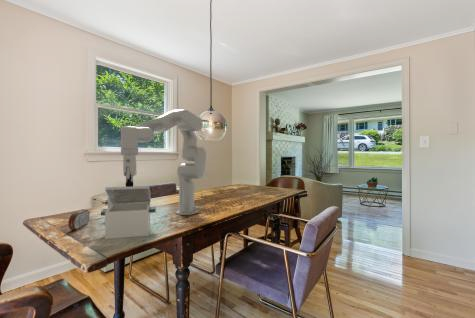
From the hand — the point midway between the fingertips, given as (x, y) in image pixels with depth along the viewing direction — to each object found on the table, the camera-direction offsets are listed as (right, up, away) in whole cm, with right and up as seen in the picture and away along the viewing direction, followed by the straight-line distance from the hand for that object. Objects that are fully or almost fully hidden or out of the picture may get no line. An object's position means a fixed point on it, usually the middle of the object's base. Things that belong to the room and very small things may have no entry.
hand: (129, 190), depth 118 cm
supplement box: (-19, -20, +26) cm, 37 cm away
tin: (-28, -20, +7) cm, 36 cm away
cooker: (-1, -20, +2) cm, 20 cm away
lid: (-1, -3, +3) cm, 4 cm away
